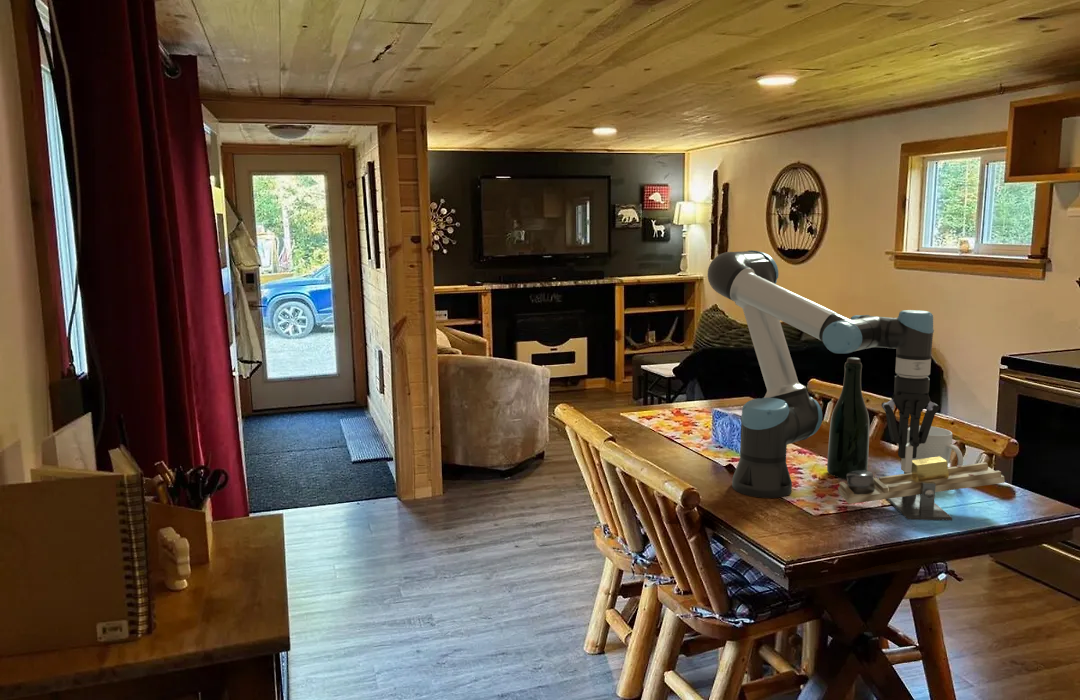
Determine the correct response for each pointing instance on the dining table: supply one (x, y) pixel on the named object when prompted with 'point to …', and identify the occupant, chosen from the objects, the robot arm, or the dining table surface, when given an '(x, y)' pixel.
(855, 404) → the green wine bottle
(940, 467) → the rider
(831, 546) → the dining table surface
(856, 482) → the counterweight
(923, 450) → the mug
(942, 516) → the stand
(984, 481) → the beam
